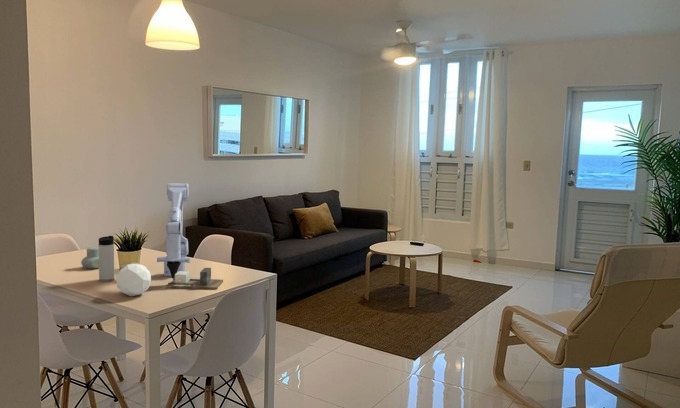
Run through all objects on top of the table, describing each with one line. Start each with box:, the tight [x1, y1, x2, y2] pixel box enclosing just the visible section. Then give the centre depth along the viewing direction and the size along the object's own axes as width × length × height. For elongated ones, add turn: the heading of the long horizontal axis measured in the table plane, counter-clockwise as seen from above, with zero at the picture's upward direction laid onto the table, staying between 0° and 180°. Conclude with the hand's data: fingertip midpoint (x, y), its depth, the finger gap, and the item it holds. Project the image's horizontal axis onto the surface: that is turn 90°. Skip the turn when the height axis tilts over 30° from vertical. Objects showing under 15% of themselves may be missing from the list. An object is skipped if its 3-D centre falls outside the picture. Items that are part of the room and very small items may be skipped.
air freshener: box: [80, 246, 99, 270], centre depth 252 cm, size 11×8×10 cm
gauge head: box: [175, 270, 191, 283], centre depth 226 cm, size 5×9×4 cm, turn 1°
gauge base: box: [165, 267, 224, 290], centre depth 228 cm, size 22×13×7 cm, turn 91°
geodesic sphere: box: [115, 261, 152, 297], centre depth 210 cm, size 14×14×14 cm
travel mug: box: [98, 235, 115, 283], centre depth 230 cm, size 6×7×20 cm
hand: (173, 277), depth 228 cm, fingers closed
